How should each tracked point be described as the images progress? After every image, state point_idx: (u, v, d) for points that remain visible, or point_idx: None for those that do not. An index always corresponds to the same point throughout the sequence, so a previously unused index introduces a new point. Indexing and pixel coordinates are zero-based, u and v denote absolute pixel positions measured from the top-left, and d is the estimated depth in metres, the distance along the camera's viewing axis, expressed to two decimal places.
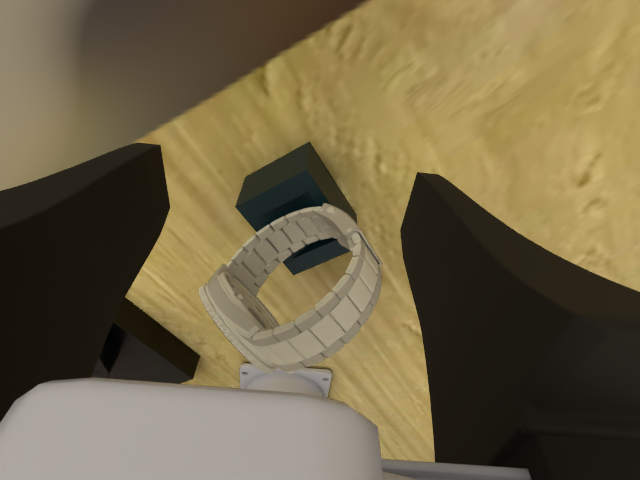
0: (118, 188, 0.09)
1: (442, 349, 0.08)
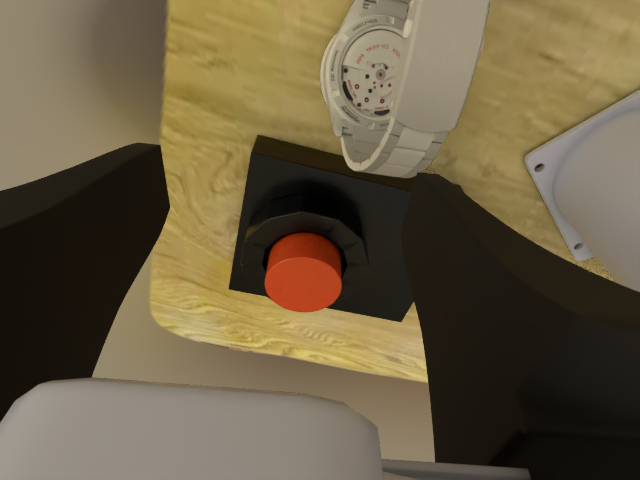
0: (118, 188, 0.09)
1: (442, 349, 0.08)
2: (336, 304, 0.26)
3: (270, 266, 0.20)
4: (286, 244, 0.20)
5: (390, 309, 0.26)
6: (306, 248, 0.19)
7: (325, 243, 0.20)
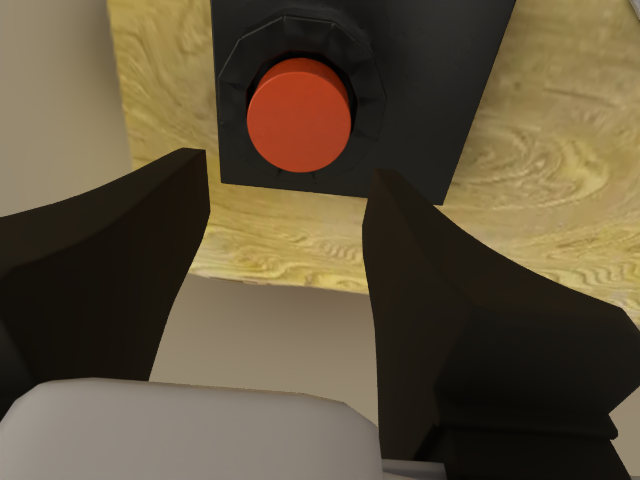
0: (173, 194, 0.09)
1: (387, 344, 0.08)
2: (356, 188, 0.21)
3: (251, 100, 0.15)
4: (269, 72, 0.15)
5: (426, 187, 0.20)
6: (295, 66, 0.14)
7: (323, 66, 0.15)
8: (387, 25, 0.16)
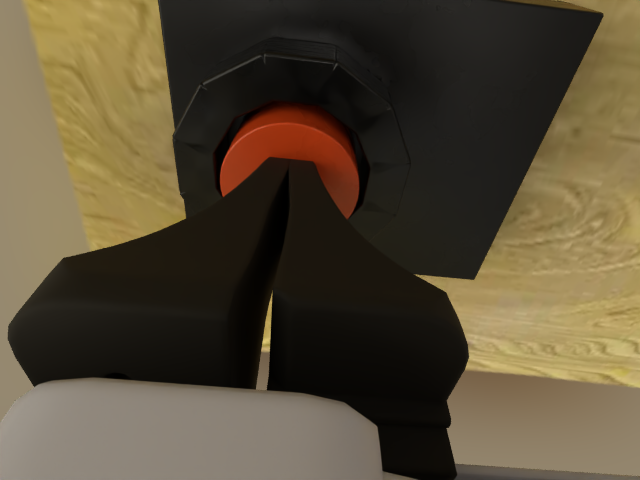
0: (277, 204, 0.09)
1: None
2: None
3: (225, 157, 0.11)
4: (250, 117, 0.11)
5: (454, 259, 0.16)
6: (283, 113, 0.10)
7: (321, 109, 0.11)
8: (412, 61, 0.11)
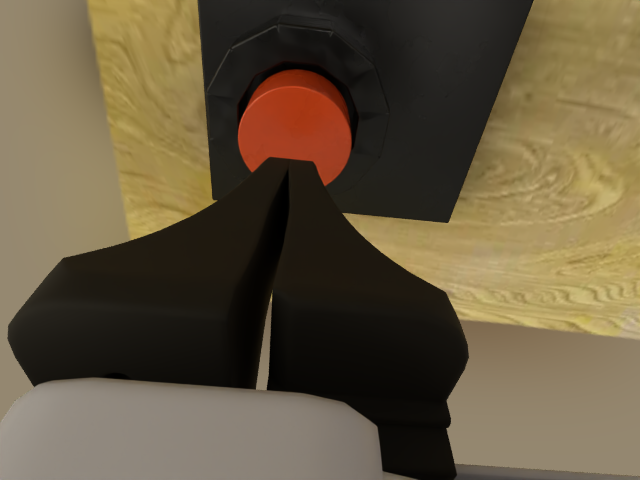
0: (277, 204, 0.09)
1: None
2: (356, 205, 0.19)
3: (242, 116, 0.13)
4: (262, 85, 0.14)
5: (431, 203, 0.19)
6: (290, 79, 0.13)
7: (320, 79, 0.14)
8: (390, 33, 0.15)
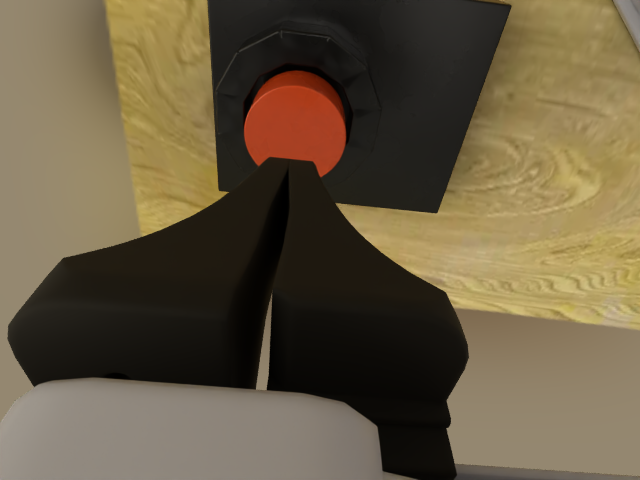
0: (277, 204, 0.09)
1: None
2: (352, 196, 0.21)
3: (248, 113, 0.15)
4: (266, 84, 0.15)
5: (421, 195, 0.21)
6: (291, 79, 0.15)
7: (318, 79, 0.15)
8: (382, 38, 0.16)
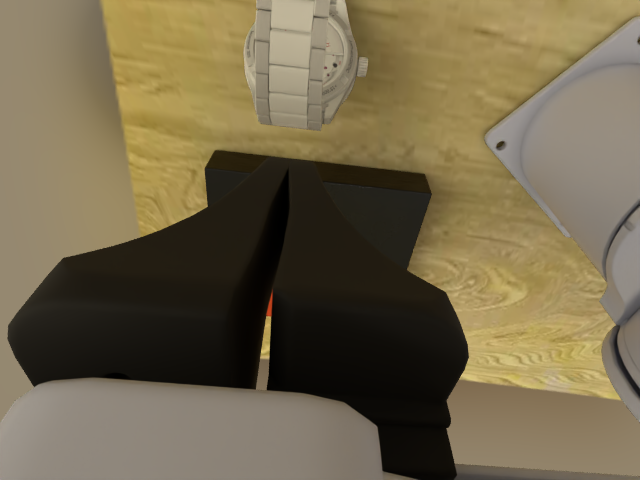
0: (277, 204, 0.09)
1: None
2: None
3: None
4: None
5: None
6: None
7: None
8: None
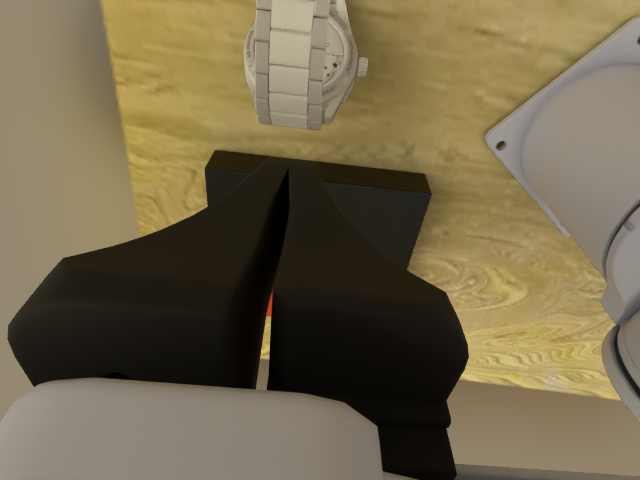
0: (277, 204, 0.09)
1: None
2: None
3: None
4: None
5: None
6: None
7: None
8: None
